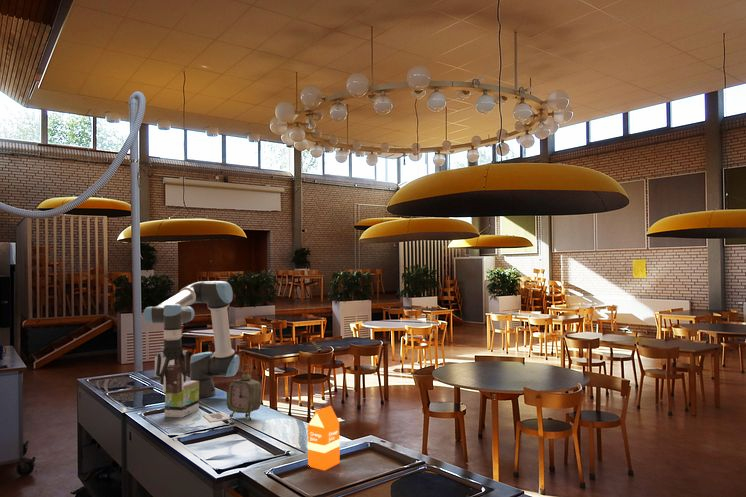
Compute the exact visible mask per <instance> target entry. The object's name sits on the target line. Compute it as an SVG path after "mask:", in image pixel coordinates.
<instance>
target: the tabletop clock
mask: <svg viewBox="0 0 746 497" xmlns="http://www.w3.org/2000/svg"><path fill="white" fill-rule="evenodd" d="M245 366H246V367H249V369H250V371H248V370H247V369H245V370H244V371H243V370H242V368H243V367H245ZM239 370H240V372H241V373H243V374H242V375H241V376H240V378H239V379H234V380H231V381H229V382H228V384H227V388H226V406H227V409H228V410H229V411H232V413H230V414H229V416H230V417H231V418H232V419H233V417H234V414H235V413H237V414H244V417H245V418H247V421H248V422H250V421H252V418H251V413H252V412H254V411H257V410H259V409H260V407H261V404H262V396H263V394H262V393H263V388H262V387H263V386H262V383H261V382H260V381H258V380H256V379H253V378H251V375H250V374H251V373H252V372H253V367H252V366H251V365H249V364H246V363H245V364H242V365H240V366H239Z"/></svg>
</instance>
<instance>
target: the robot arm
mask: <svg viewBox="0 0 746 497" xmlns="http://www.w3.org/2000/svg"><path fill="white" fill-rule="evenodd" d="M233 296H234V292H233V288H232V285H231V284H230V283H229V282H228V281H223V280H212V281H211V280H205V281H204V280H203V281H202V280H201V281H197V282H193V283H191V284H187V285H186V286H184V287H183V288H181V289H180V290H179V291H178V293H176V294H175V295H173V296H171V297H169V298H168V299H166V300H164V301H162V302H161V303H159V304H158V305H156V306H147V307H145V309H143V314H142V315H143V321H145V323H149V324H163V339H164V340H163V347H164V351H163V350H162V352H157V353H156V357H157V367H156V376H158V377H157V378H159V383H160V385H162V392H163V393H165V392H166V377H165V376H164V374H165V372H166V369H167V366H168V364H169V362H170V360H174V361H176V362H177V365H180V366H181V390H184V382H185V381H186V380H187V379H186V378H187V374H190V375H189V377H190V378H189V380H190V381H199V399H203V398H209V397H213V396H215V395H216V393H217V392H216V387H215V385H214V381H213V377H226V378H227V377H233V376H235V375H236V374H237V373H238V371H239V369H240V355H238V354H236V352H235V351H236V350H235V349H233V348H232V342H231V341H232V340H231V333H230V332H231V331H230V323H229V313H228V308H229V306H230V303H232V301H233V298H234V297H233ZM193 304H206V307H207V309H209V310H210V315H211V323H212V324H211V325H212V333H213V340H214V352H212V351H205V352H199V353H194V354H192V355H191V356H190V361H189V353H190V351H189V350H184V349H183V346H182V345H183V342H182V340H183V339H182V337H183V336H182V332H183V331H182V324H185V323H186V324H187V323H189V322H191V321H193V319H194V318H195V314H196V312H195V310H194V308H193V307H192V306H190V305H193ZM182 354H183V358H184V365H185V366H184V365H183V362H182V358H181V355H182ZM163 355H164V356H165V357H166V359H165V363H164V365H163V368H162V371H161V373H160V367H161V358H162V356H163ZM189 362H190V363H189Z"/></svg>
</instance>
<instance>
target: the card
mask: <svg viewBox="0 0 746 497" xmlns="http://www.w3.org/2000/svg"><path fill="white" fill-rule="evenodd" d="M202 417H203V418H205V419H206V420H207V421H208V422H209V423H215V422H221V421H228V420H232V419H231V417H230V415H228V413H226V412H224V411H220V412H214V413H208V414H203V415H202ZM227 419H228V420H227Z"/></svg>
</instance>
